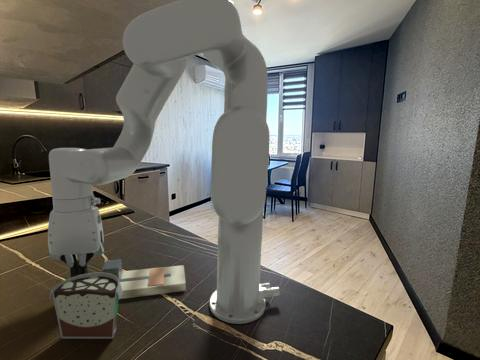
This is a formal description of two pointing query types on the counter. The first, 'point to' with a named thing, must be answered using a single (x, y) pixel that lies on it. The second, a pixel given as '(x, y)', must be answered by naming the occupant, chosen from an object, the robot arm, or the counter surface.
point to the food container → (87, 305)
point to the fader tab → (113, 268)
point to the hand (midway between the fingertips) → (79, 279)
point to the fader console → (152, 281)
